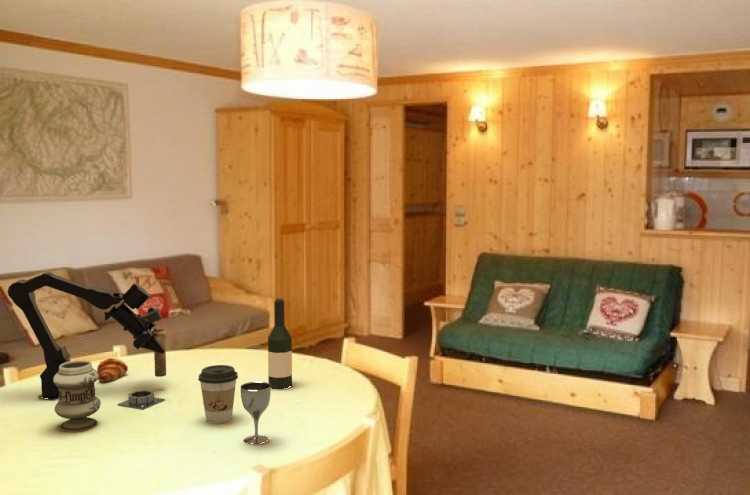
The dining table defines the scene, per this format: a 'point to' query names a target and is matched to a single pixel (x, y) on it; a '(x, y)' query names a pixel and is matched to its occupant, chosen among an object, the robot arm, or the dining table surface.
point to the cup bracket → (141, 400)
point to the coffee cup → (218, 392)
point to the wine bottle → (279, 351)
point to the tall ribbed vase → (160, 354)
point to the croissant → (111, 369)
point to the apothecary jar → (76, 395)
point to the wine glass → (255, 405)
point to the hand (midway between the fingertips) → (164, 350)
